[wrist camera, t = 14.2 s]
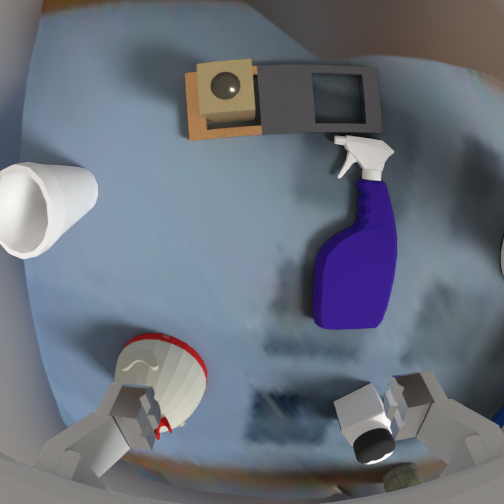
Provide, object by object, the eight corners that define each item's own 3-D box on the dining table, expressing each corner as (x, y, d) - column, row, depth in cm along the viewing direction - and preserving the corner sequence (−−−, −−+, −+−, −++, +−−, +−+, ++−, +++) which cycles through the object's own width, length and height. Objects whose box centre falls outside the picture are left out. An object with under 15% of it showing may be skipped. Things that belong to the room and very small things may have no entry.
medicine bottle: (332, 401, 48) (347, 456, 37) (371, 381, 47) (394, 434, 35) (347, 422, 50) (362, 474, 39) (383, 404, 49) (404, 454, 37)
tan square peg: (251, 83, 33) (251, 58, 23) (254, 120, 35) (255, 109, 24) (212, 86, 33) (196, 63, 23) (215, 123, 35) (199, 114, 24)
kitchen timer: (107, 337, 44) (65, 402, 30) (192, 327, 43) (169, 403, 29) (140, 403, 49) (115, 470, 34) (217, 398, 48) (208, 474, 34)
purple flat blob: (387, 330, 41) (413, 143, 33) (310, 332, 41) (325, 132, 33) (380, 319, 43) (402, 143, 36) (306, 321, 43) (320, 133, 36)
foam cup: (122, 185, 37) (68, 206, 25) (85, 239, 39) (31, 277, 27) (72, 141, 35) (8, 145, 23) (40, 196, 37) (-22, 219, 25)
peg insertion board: (372, 70, 32) (377, 68, 31) (377, 133, 35) (382, 132, 34) (187, 75, 33) (184, 73, 32) (192, 140, 35) (189, 140, 34)
